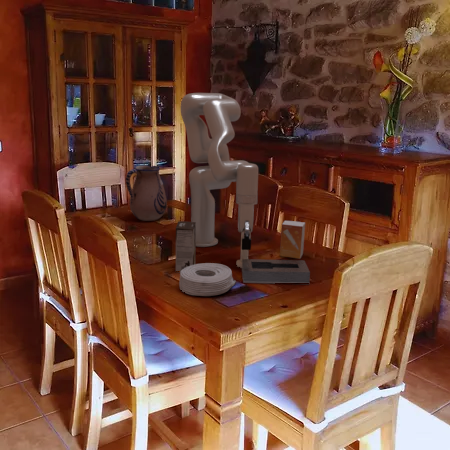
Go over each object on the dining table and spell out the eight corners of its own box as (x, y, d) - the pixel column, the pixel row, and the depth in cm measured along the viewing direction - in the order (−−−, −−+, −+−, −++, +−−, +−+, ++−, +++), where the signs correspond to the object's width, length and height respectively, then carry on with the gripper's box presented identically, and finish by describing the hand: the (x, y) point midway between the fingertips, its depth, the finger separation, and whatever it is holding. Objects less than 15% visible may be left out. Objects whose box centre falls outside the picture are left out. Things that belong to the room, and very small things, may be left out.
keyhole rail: (243, 282, 176) (243, 270, 175) (241, 270, 187) (242, 259, 186) (309, 284, 176) (310, 272, 175) (303, 271, 188) (304, 260, 186)
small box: (279, 256, 203) (281, 223, 200) (282, 251, 209) (284, 220, 206) (300, 259, 201) (302, 226, 197) (303, 254, 207) (305, 222, 203)
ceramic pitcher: (174, 218, 255) (174, 166, 249) (145, 227, 238) (144, 172, 232) (146, 212, 264) (145, 162, 258) (116, 221, 247) (115, 168, 240)
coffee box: (178, 263, 192) (178, 220, 188) (195, 264, 192) (196, 221, 188) (175, 272, 184) (175, 227, 179) (193, 273, 183) (193, 228, 179)
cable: (237, 281, 178) (238, 264, 176) (226, 301, 161) (226, 283, 159) (188, 276, 181) (188, 259, 180) (171, 295, 165) (171, 277, 163)
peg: (236, 268, 189) (237, 230, 186) (236, 262, 195) (237, 226, 191) (252, 268, 189) (253, 230, 186) (251, 263, 195) (252, 226, 191)
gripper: (235, 194, 194) (234, 239, 198) (236, 203, 177) (235, 252, 181) (255, 194, 194) (254, 239, 198) (259, 204, 177) (257, 252, 181)
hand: (245, 245), depth 190 cm, fingers open, 9 cm apart
